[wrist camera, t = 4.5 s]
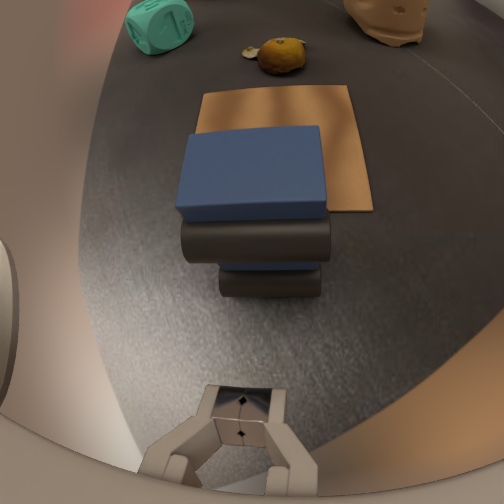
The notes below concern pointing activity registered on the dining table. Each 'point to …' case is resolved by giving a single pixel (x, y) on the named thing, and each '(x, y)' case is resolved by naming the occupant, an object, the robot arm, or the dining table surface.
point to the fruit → (279, 55)
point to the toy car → (257, 209)
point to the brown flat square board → (301, 114)
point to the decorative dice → (159, 25)
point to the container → (390, 19)
